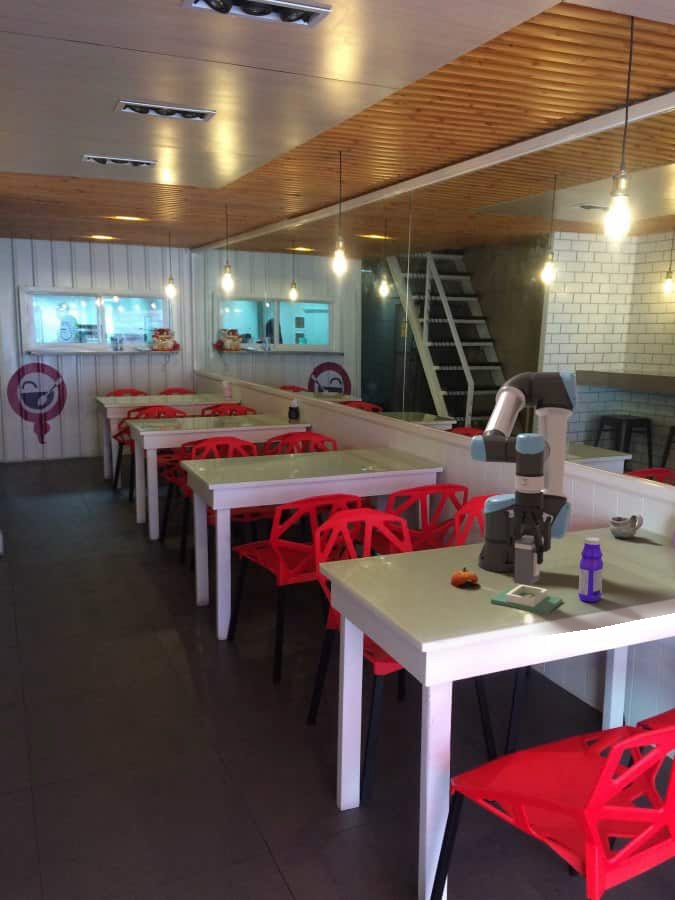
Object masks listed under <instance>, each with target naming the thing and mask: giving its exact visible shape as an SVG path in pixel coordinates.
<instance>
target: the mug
mask: <svg viewBox="0 0 675 900" xmlns="http://www.w3.org/2000/svg"><path fill="white" fill-rule="evenodd" d="M643 525H644V517H643V516H642V515H641V514H639V513H633V514H632V515H630V516H629V517H628V516H627V517H626V516H612V517H610V525H609V526H610V527H609V531H610V533H611V534H612V535H613V536H614V537H617V538H621V539H630V538H632V537H634V536H635V535H636V534H637V530H639V529H640V528H642V526H643Z"/></svg>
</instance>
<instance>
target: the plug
mask: <svg viewBox="0 0 675 900" xmlns="http://www.w3.org/2000/svg"><path fill="white" fill-rule="evenodd" d="M535 552H536V546H535V541H534V536H527V535H524V536H522V537H521V538H519V539H517V540H515V571H514V581H513V582H514V584H519V585H520V584H521V585H527V586H532V585H533V584H535V583H536V582H538V581H540V577H541V576H540V575H541V573H540V574H539V575H537V576H533V567H534V553H535Z"/></svg>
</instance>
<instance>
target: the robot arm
mask: <svg viewBox="0 0 675 900" xmlns="http://www.w3.org/2000/svg"><path fill="white" fill-rule="evenodd" d="M576 379H577V378H576V375H575V374H574V373H573V372H566V371H565V372H564V371H546V372H545V371H535V372H534V371H526V372H521V373H519V374H516V375H514V376H512V377H511V378H510V379H508V380H506V381H505V382H504V383H503V384H502V385H501V386H500V387H499V389H498V391H497V393H496V396H495V406H494V409H493V410H492V413H491V415H490V418H489V419H488V422H487V424H486V426H485V429H484V432H483V434H482V435H481V434H480V435H474V436H472V438H471V440H470V445H469V446H470V447H469V453H470V458H471V460H473V461H477V462H482V463H508V464H515V481H514V482H515V483H514V485H515V486H514V488H515V489H516V490H515V492H514V493H506V494H505V493H503V494H498V495H492V496H489V497H488V498H486V499H485V501H484V510H483V543H482V546H481V549H480V551H479V555H478V557H477V559H478V560H477V565H478V567H479V568H482V569H483V570H487V571H492V572H498V573H499V572H500V573H511V572H512V573H515V540H517V539H519V538H521V537H523V536H524V535H527V536H534V541H535V546H536V552H535V553H534V567H533V576H537V575H539V574H540V575H541V573H540V571H541V565H542V564H543V562H544V553H546V552H548V551H550V550H551V548H552V546H551V545H552V542H551V541H552V540H562V539H564V538H565V537H566V535H567V533H568V530H569V525H570V521H571V516H572V506H573V505H572V503H570V502H568V496H566V495H565V493H564V492H563V489H564V474H565V461H566V460H565V457H566V446H567V445H566V444H567V430H568V429H567V426H568V419H569V418H570V417H571V416H572V415H574V414H573V411H574V410H575V409H577V408H579V393H578V385H577V380H576ZM524 408H535V411H534V412H535V414H536V415H537V416H538V418H539V422H538V423H539V424H538V433H530V432H529V433H519V434H518V435H517V436H511V433H512V431H513V429H514V426H515V423H516V421H517V418H518V415H519V412H521V411H522V410H523V409H524Z"/></svg>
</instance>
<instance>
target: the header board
mask: <svg viewBox="0 0 675 900" xmlns="http://www.w3.org/2000/svg"><path fill="white" fill-rule="evenodd" d="M548 591H549V590H548V589H547V588H541V587H537V586H532V585H530V586H529V585H523V584H519V585H518V586H516V587H514V588H511V587H508V588H506V589H504V590H503V591H501V592H500V593H498V594H497V595H495V596H493V597H492V598H491V599H490V603H491V604H495V605H499V606H506V607H508V608H509V607H510V608H514V609H521V610H525V611H529V612H535V613H539V614H544V615H548V614H549V613H551V611H553V610H554V609H555V608H557V607H558V606H559V605H560V604H562V602H563V597H559V596H552V595H548Z"/></svg>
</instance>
